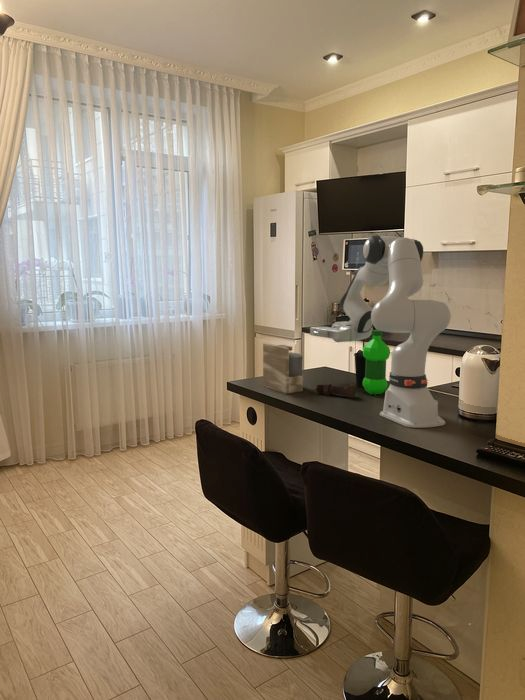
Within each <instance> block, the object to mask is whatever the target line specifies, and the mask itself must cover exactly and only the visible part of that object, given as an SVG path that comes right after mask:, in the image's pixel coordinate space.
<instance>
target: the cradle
mask: <svg viewBox="0 0 525 700" xmlns="http://www.w3.org/2000/svg"><path fill="white" fill-rule="evenodd" d="M290 351H293V346H291V345H287V344H280V345H279V344H277V345H276V344H272V343H268V342H263V343H262V371H263V372H262V386H263V387H265V388H267V389H271V390H273V391H276V392H279V393H281V394H285V395H289V394H291V393H298V392H303V391H304V386H303V385H304V376H303V375H302V376H294V377H289V353H290Z"/></svg>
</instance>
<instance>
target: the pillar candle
mask: <svg viewBox="0 0 525 700" xmlns="http://www.w3.org/2000/svg"><path fill="white" fill-rule="evenodd" d="M291 351H292V350H291ZM291 351H289V377H294V376H303V354H302V353H298V352H297V353H296V352H291Z"/></svg>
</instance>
